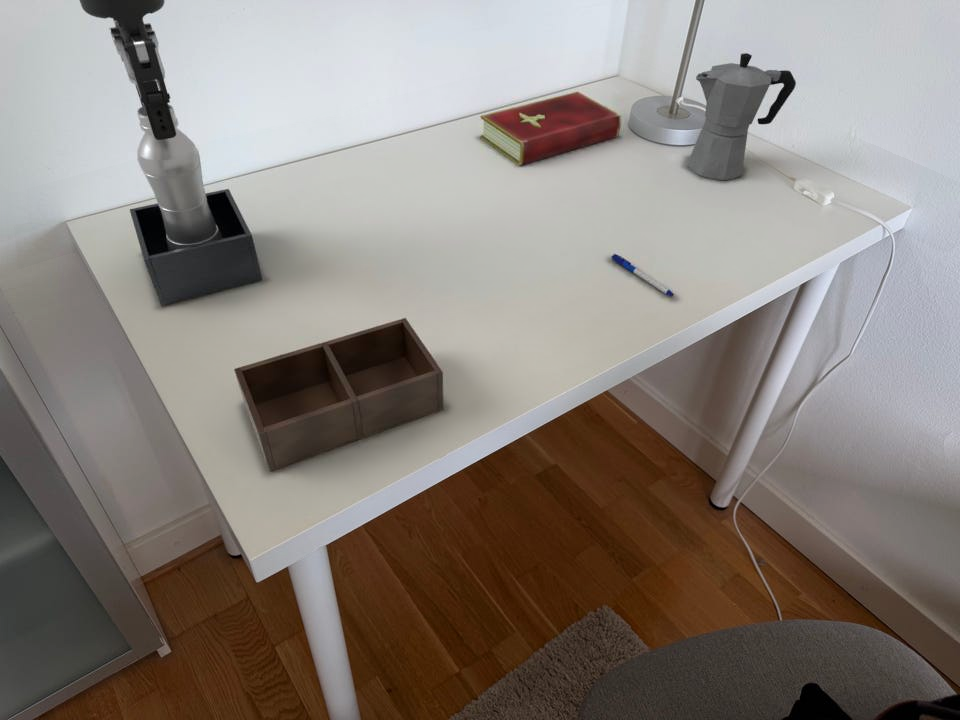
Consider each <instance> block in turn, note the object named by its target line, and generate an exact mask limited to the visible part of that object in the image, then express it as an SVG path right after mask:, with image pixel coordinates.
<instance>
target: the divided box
mask: <svg viewBox="0 0 960 720" xmlns="http://www.w3.org/2000/svg"><path fill="white" fill-rule="evenodd" d="M233 371H234V374H235V378H236V381H237V383H238V387H239V390H240V393H241V397H242V400H243V403H244V407H245V410H246V412H247V415H248V417H249V420H250V423H251V426H252V429H253V431H254V433H255V436H256V439H257V441H258V444H259V447H260V450H261V453H262V455H263V458H264V460H265V463H266V465H267V468H268V471H269V472H272V471H275V470H278V469H280V468H283V467H286V466H289V465H292V464H295V463H298V462H301V461H304V460H306V459H309V458H312V457H314V456H317V455H319V454H322V453H326V452H328V451H331V450H334V449H336V448H339V447H342V446H345V445H349V444H350V443H353V442H356V441H359V440H362V439H365V438H368V437H370V436H372V435H375V434H378V433H382V432H384V431H387V430H389V429H392V428H395V427H397V426H401V425H403V424H406V423H409V422H412V421H414V420H417V419H420V418H424V417H426V416H429V415H432V414H435V413H437V412H439V411H442V410H444V372H443V370H442V369H441V367H440V366H439V364H438V363H437V362H436V359H434V357H433V356H432V355H431V352H430V351H429V350H428V348H427V347H426V346H425V344H424V343H423V341H422V340H421V338H420V337H419V335H418V333H417V332H416V330H415V329H414V327H412V325H411V324H410V322H409V321H408V319H407V317H404V318H400V319H396V320H393V321H390V322H386V323H383V324H380V325H376V326H373V327H370V328H366V329H363V330H360V331H357V332H354V333H350V334H347V335H343V336H340V337H337V338H333V339H330V340H327V341H324V342H319V343H315V344H313V345H309V346H306V347H302V348H300V349H297V350H293V351H289V352H287V353H282V354H279V355H277V356H273V357H269V358H265V359H263V360H259V361H256V362H252V363H249V364H246V365H241V366H240V367H235V368H234V369H233Z"/></svg>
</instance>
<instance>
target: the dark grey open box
mask: <svg viewBox="0 0 960 720" xmlns="http://www.w3.org/2000/svg"><path fill="white" fill-rule="evenodd" d="M205 195H206V198H207V202H208V205H209V208H210V210H211V213H212V216H213V218H214V221H215V223H216V225H217V227H218V228H219V230H220V232H221V235H222V237H223V239H221V240H216V241H212V242H208V243H203V244H199V245H195V246H190V247H186V248H182V249H177V250H173V251H168V245H167V238H166V230H165V225H164V221H163V217H162V213H161V210H160V207H159V205H158V202H157V203H154V204H147V205H143V206H139V207H134V208H129V213H130V217H131V221H132V223H133V226H134V231H135V235H136V237H137V241H138V244H139V248H140V251H141V255H142V258H143V262H144V264H145V267H146V269H147V271H148V274H149V277H150V280H151V283H152V286H153V288H154V292H155V294H156V296H157V299H158V302H159V304H160V307H165V306H169V305H173V304H177V303H181V302H184V301H189V300H193V299H197V298H200V297H204V296H208V295H212V294H215V293H216V294H217V293H220V292H223V291H224V292H225V291H227V290H232V289H235V288H240V287H243V286H246V285H251V284H254V283H258V282H262V281H263V276H262V272H261V267H260V263H259V260H258V255H257V250H256V246H255V242H254V238H253V234H252V232H251V230H250V228H249V226H248V224H247V222H246V220H245V218H244V216H243V214H242V212H241V210H240V208H239V206H238V205H237V202H236V200H235V199H234V196H233V195H232V193H231V190H230V188H226V189H221V190H216V191H211V192H205Z"/></svg>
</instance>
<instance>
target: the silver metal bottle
mask: <svg viewBox="0 0 960 720" xmlns="http://www.w3.org/2000/svg"><path fill="white" fill-rule="evenodd" d="M168 106H169V110H170V113H171V117H172V120H173V124H174V127H175V131H176V136H175V137H174V138H169V139H163V140H157V139H155V137H154V135H153V132H152V129H151V126H150V122H149V119H148V116H147V113H146V109H145V107H144V106H142V105H141V106H140V107H139V108H138V109H137V111H136V112H137V117H138V120H139V127H140V130H142V131H143V132H144V133H143V136H142V137H141V140H140V142H139V144H138V148H137V153H136V154H137V158H136V159H137V162H138V164H139V167H140V169H141V170H142V173H143V175H144V177H145V179H146V180H147V182H148V185H149V186H150V188H151V191H152V192H153V195H154V197H155V200H156V202H157V203H158V205H159V207H160V210H161V213H162V217H163V221H164V225H165V230H166V238H167V245H168V251H173V250H177V249H182V248H186V247H190V246H195V245H199V244H203V243H208V242H212V241H216V240H221V239H223V237H222V235H221V232H220V230H219V228H218V227H217V225H216V223H215V221H214V218H213V216H212V213H211V210H210V208H209V205H208V202H207V198H206V195H205V194H206V189H205V185H204V182H203V181H204V179H203V172H202V163H201V156H200V152H199V151H200V150H199V149H198V147H197V146H196V144H195V142H194V141H193V140H192V139H191V138H190V137H189V136H188V135H186V134H185V133H184V132H183V131H181V130H180V129H179V128H178V126H179V120H178V118H177V116H176V112H175V109H174V106H173V105H171V104H169V103H168Z"/></svg>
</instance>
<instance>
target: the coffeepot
mask: <svg viewBox="0 0 960 720" xmlns="http://www.w3.org/2000/svg"><path fill="white" fill-rule="evenodd" d="M752 56H753V55H752V54H750V53H747V52H746V53H745V52H744V53H740V60H739V63H733V62H728V63H723V64H717V65H712V66H711V69H710V70H707V71H706V70H705V71H701V72H700V73H698V74H697V75H695V80H696V81H698V82H699V84H700V86H701V89H702V92H703V96H704V98H705V102H706V104H705V113H704V117H705V119H704V123H703V125H702V127H701V130H700V132H699V134H698V136H697V139H696V142H695V144H694V146H693V149H691V153H690V155H689V158H688V161H687V164H686V166H687V167H688V169H689V170H690V171H691V172H693V174H695V175H697V176H700V177H702V178H704V179H709V180H714V181H731V180H735V179H737V178H738V177H741V176H742V174H743V167H744V160H745V154H746V147H747V141H748V134H749V128H750V125H753V122H754V120H755V117H756V116H757V114H758V111H759V109H760V107H761V106H762V103H763V101H764V98H765V96H766V95H767V92H768V90H769V88H770V87H771V86H772V85H774V86H775V85H779V84H783V86H782V88H781V89H780V91H779V92H778V94H777V96H776V99H775V100H774V102H773V103H772V104H771V106H770V107H769V110H768V112H767V114H766V116H765V117H758V118H757V124H758V125H770V124H771V123H772V122H773V121H774V119H775V118H776V116H777V115H778V113H779V111H780V110H781V109H782V108H783V106H784V104H785V103H786V102H787V100H788V98H789V97H790V95H791V94H792V93H793V92H794V90H795V88H796V84H797V81H796V79H795V77H794V76H793V74H792V72H791V71H790V70H787V69H785V70H784V69H783V70H778V69H767V70H763V69H761V68H759V67H758V66H754V65H749V63H750V61H751V59H752Z"/></svg>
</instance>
